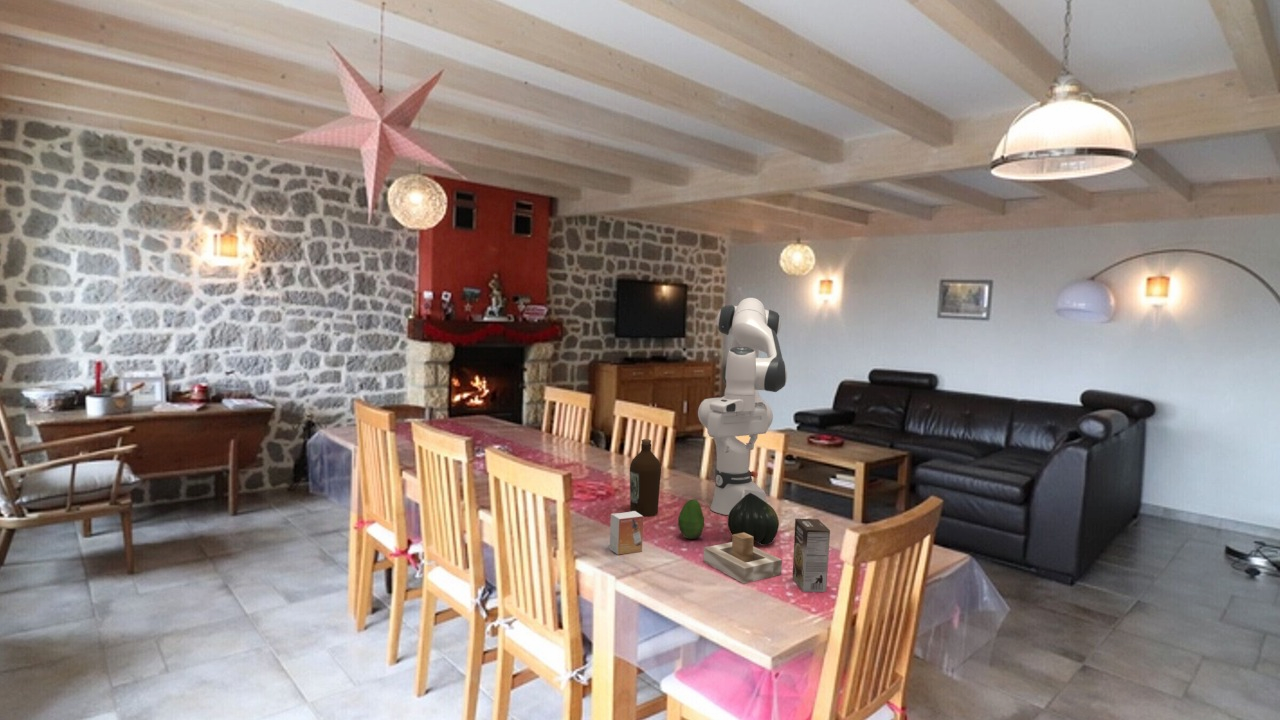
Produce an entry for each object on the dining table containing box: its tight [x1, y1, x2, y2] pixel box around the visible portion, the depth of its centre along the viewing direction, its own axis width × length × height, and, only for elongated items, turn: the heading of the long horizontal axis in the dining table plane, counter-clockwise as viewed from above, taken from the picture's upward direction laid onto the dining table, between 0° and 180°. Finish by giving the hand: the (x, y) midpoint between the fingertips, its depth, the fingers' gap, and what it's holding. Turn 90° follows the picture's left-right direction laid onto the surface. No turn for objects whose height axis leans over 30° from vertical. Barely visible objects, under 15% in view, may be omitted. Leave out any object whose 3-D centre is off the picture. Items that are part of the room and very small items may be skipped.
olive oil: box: [629, 438, 662, 518], centre depth 233 cm, size 11×11×25 cm
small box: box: [609, 511, 644, 556], centre depth 198 cm, size 8×6×10 cm
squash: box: [727, 493, 780, 546], centre depth 209 cm, size 14×15×15 cm
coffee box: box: [792, 518, 831, 593], centre depth 177 cm, size 9×6×16 cm
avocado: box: [677, 499, 705, 540], centre depth 210 cm, size 8×8×12 cm
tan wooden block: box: [731, 533, 755, 562], centre depth 187 cm, size 4×7×9 cm, turn 32°
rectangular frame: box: [702, 541, 783, 584], centre depth 187 cm, size 13×17×4 cm
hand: (737, 450), depth 200 cm, fingers open, 8 cm apart
